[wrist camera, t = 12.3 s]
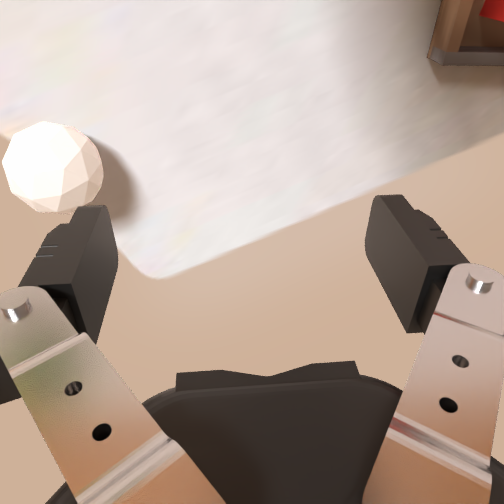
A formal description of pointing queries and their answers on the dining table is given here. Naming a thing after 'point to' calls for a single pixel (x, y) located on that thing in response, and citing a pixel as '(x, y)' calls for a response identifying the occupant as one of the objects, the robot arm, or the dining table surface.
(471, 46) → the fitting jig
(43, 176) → the geometric ball
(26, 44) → the dining table surface
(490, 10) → the bracket
